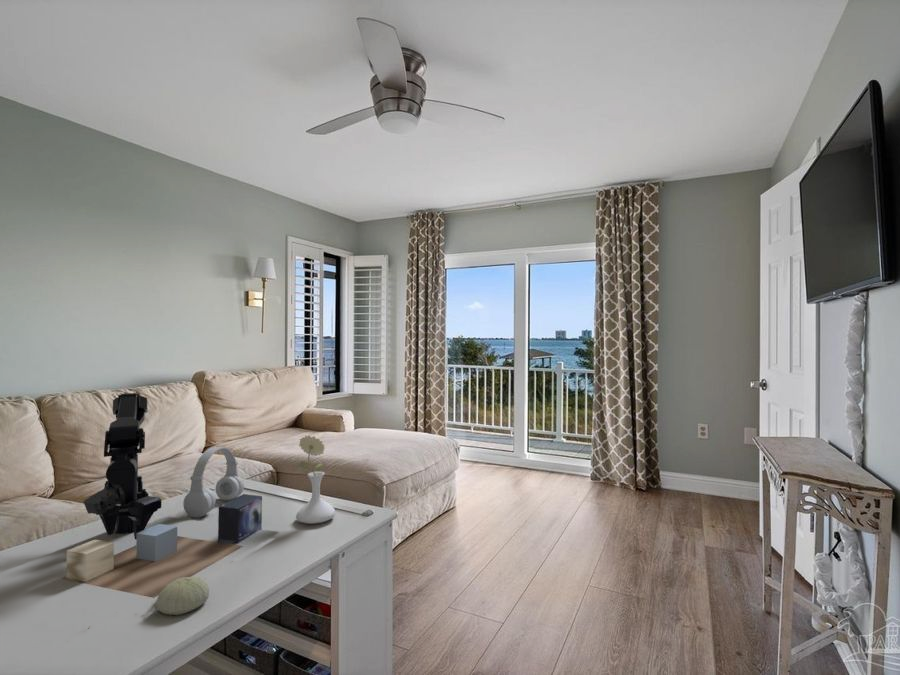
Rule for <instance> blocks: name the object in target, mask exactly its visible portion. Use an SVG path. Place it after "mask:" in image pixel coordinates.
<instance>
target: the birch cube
mask: <svg viewBox="0 0 900 675" xmlns="http://www.w3.org/2000/svg"><path fill="white" fill-rule="evenodd" d="M114 544H115V543H114V542H113V541H105V540H99V539H93V540H90V541H87V542H85V543H82V544H79V545H77V546H75V547H73V548H69V549H66V574H65V575H66V578H69V579H74V580H79V581H84V582H87V581H89V580H91V579H93V578H95V577H97V576H100V575H102V574H104V573H106V572H108V571H110V570H112V569H114V555H115V554H114V551H115V550H114V549H115V546H114Z"/></svg>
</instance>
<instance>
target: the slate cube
mask: <svg viewBox="0 0 900 675" xmlns="http://www.w3.org/2000/svg"><path fill="white" fill-rule="evenodd" d="M177 536H178V526H177V525H168V524H163V523H158V524H155V525H153V526H150V527H148V528H145V529H144V530H143V531H141V532H138V533H136V541H135V543H136V544H135V546H136V558H138V559H143V560H149V561H155V562H156V561H158V560H160V559H162V558H164V557H166V556H168V555H170V554H172V553H174V552H176V551H177Z"/></svg>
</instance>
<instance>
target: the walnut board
mask: <svg viewBox="0 0 900 675" xmlns="http://www.w3.org/2000/svg"><path fill="white" fill-rule="evenodd" d="M243 547H244V546H243V545H238V544H234V543H226V542H218V541H213V540H207V539H199V538H192V537H187V536H186V537H185V536H178V535H177V551H176V552H174V553H172V554H170V555H168V556H166V557H164V558H162V559H160V560H158V561H156V562H155V561H149V560H143V559H138V558H136V545H134V546H132V547H129V548H127V549H124V550H122V551H120V552H118V553H116V554H114V569H112V570H110V571H108V572H106V573H104V574H102V575H100V576H97V577H95V578H93V579H91V580H89V581H87V582H84V581H79V580H74V579H69V578H66V576H63V577H61V578H60V579H61V580H64V581H65V580H66V581H70V582H74V583H75V582H76V583H81V584H86V585H90V586H94V587H100V588H104V589H108V590H109V589H110V590H114V591H119V592H124V593H127V594H128V593H129V594H134V595H138V596H143V597H148V598H153V599H155V598H156V597H157V598H158V596H159V594H160V592H161V591H162V589H164V588H165V587H166V586H167V585H168V584H169V583H171V582H172V581H174V580H176V579H179V578H183V577H194V576H196V574H199V573H200V572H201V571H203V570H205V569H207V568H208V567H211V566H212V565H213V564H216V563H217V562H218V561H221V560H222V559H223V558H225V557H228V556H229V555H232V553H234V552H236V551H238V550H240V549H241V548H243Z"/></svg>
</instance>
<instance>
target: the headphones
mask: <svg viewBox="0 0 900 675" xmlns="http://www.w3.org/2000/svg"><path fill="white" fill-rule="evenodd" d="M218 451H220V452H221V453H222V454H223V456H224V458H225V460H226V464H225V465H226V471H225V474H224V476H223V477H221V478H220V479H218V481H217V482H216V485H215V493H216V495H217V497H218V498H219V499H221V501H227V502H228V501H231V500H233V499H235V498H237V497H239V496H241V495H242V493H243V492H244V488H245V483H244V480H243V478H242V477H241V476H240V475H239V471H238V465H239V463H238V461H237V460H236V457H235V455H234V453H233V452H232V450H231V449H230V448H228V447H224V446H223V447H222V446H221V447H219V446H212V447H209V448H208V449H206V450H205V451H204V452H203V453H202V454H201V456H200V457H199V458H198V460H197V462H196V464H195V466H194V469H193V473H192V475H191V476H190V478H189V479H190V481H191V483H190V487H189V488H190V489H189V492H188V493H187V494H186V495H185V497H184V499H183V509H184V511H185V514H187V515H188V517H190V518H193V519H199V518H203V517H204V516H206V515H207V514H208V513H210V512H211V511H212V510H213V509H214V507H215V505H216V496H215V494H214V492H213V491H212V490H210V488H208V487H204V484H203V483H204V481H203V480H204V472H205V470H206V467H207V465H208V463H209V460H210V459H211V458H212V456H213V455H214V454H215V453H217V452H218Z"/></svg>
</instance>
